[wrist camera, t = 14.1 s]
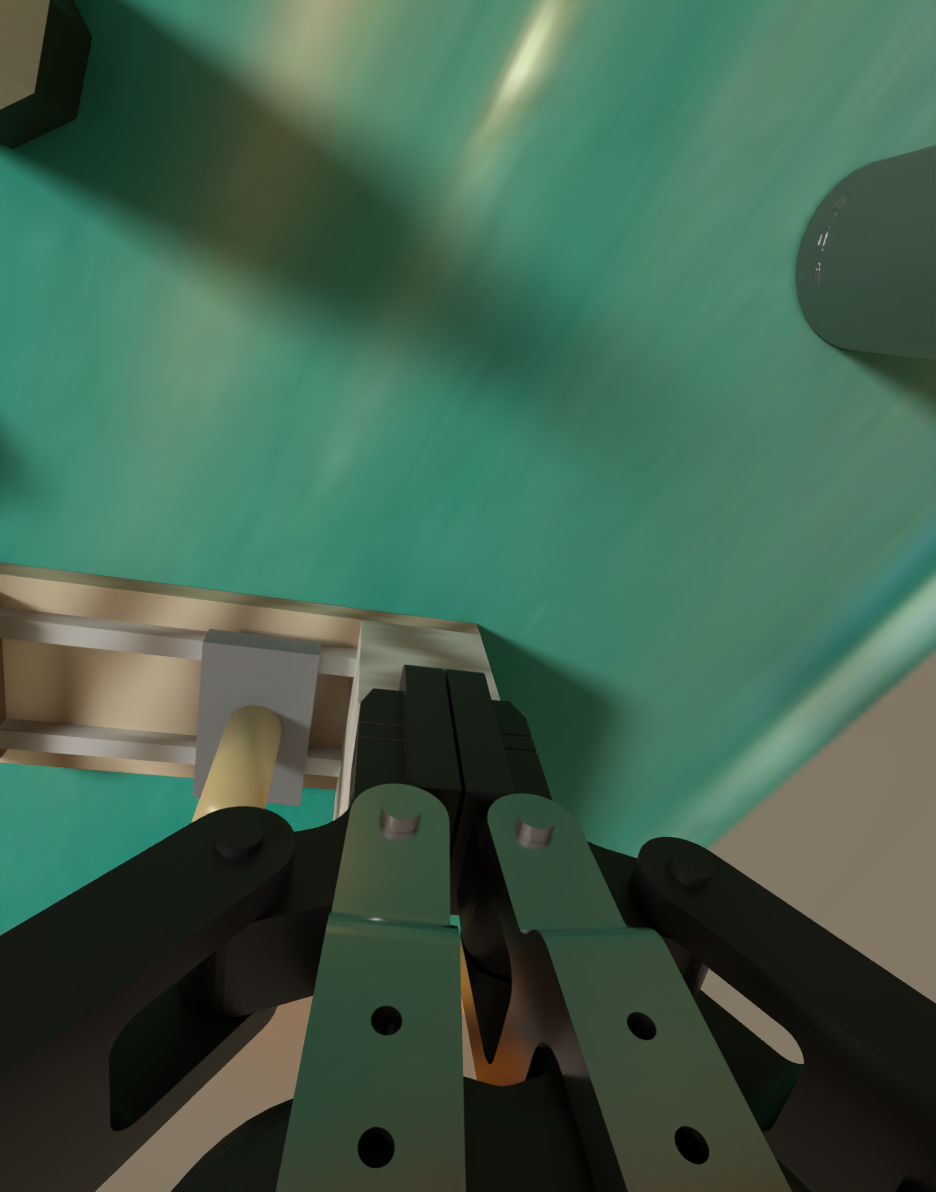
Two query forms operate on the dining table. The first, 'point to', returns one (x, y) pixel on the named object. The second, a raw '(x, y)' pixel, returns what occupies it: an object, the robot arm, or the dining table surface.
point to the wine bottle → (40, 67)
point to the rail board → (185, 669)
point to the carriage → (253, 719)
